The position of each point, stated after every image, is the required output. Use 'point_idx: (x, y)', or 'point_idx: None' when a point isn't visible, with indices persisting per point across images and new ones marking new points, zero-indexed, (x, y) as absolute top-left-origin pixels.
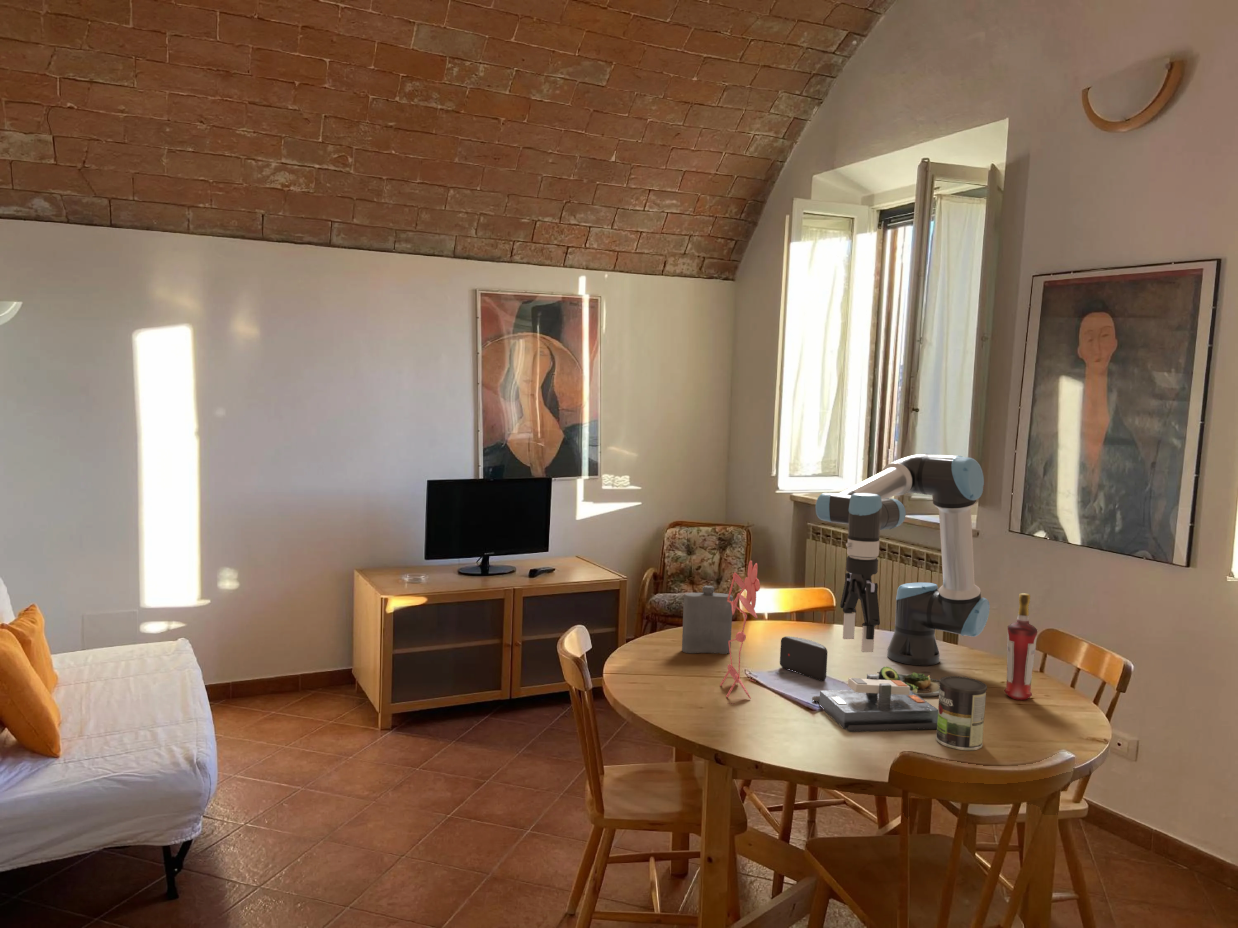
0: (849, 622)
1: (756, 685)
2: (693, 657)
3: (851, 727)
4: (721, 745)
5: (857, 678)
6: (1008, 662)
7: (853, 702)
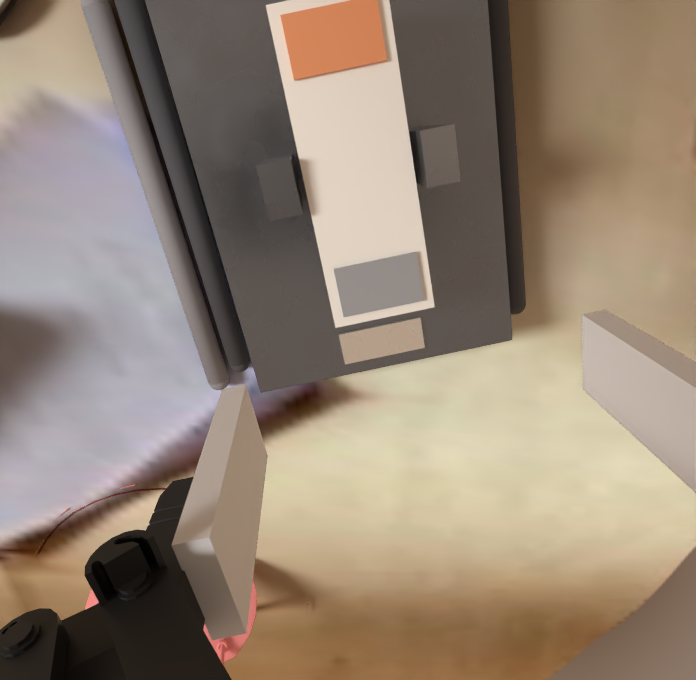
0: (244, 515)
1: (89, 538)
2: None
3: (524, 303)
4: (599, 616)
5: (342, 286)
6: None
7: None
